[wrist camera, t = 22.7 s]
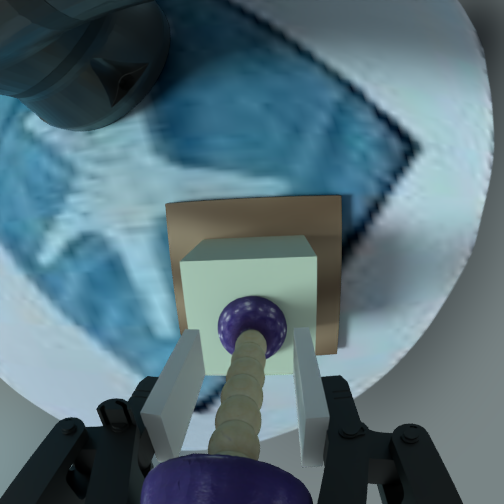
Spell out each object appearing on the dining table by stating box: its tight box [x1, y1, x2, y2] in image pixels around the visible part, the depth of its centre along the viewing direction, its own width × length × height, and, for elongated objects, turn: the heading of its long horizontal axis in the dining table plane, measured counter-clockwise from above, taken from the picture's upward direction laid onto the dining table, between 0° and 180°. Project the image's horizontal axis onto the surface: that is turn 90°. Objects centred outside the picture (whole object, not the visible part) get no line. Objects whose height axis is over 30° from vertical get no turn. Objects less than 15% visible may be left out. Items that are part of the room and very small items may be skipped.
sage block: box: [180, 235, 317, 376], centre depth 22 cm, size 8×8×7 cm
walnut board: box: [165, 195, 342, 355], centre depth 26 cm, size 14×14×1 cm
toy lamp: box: [140, 296, 313, 504], centre depth 11 cm, size 5×5×17 cm
